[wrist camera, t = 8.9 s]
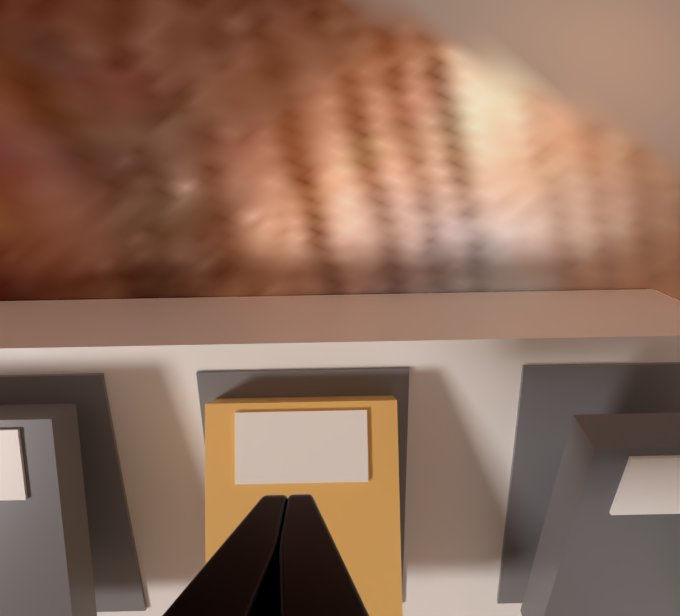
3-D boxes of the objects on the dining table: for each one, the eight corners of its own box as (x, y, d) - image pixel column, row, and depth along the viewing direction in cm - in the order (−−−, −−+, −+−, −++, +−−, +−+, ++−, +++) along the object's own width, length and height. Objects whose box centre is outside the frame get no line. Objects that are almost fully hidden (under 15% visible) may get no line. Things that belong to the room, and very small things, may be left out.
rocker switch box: (610, 518, 18) (683, 617, 14) (26, 529, 18) (-58, 632, 14) (653, 288, 16) (759, 335, 12) (-36, 301, 16) (-160, 353, 12)
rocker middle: (399, 687, 12) (405, 722, 11) (217, 691, 12) (204, 726, 11) (392, 394, 12) (397, 400, 11) (215, 398, 12) (204, 404, 11)
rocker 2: (678, 607, 14) (703, 648, 13) (520, 610, 14) (534, 652, 13) (781, 410, 10) (827, 447, 9) (573, 414, 10) (597, 451, 9)
